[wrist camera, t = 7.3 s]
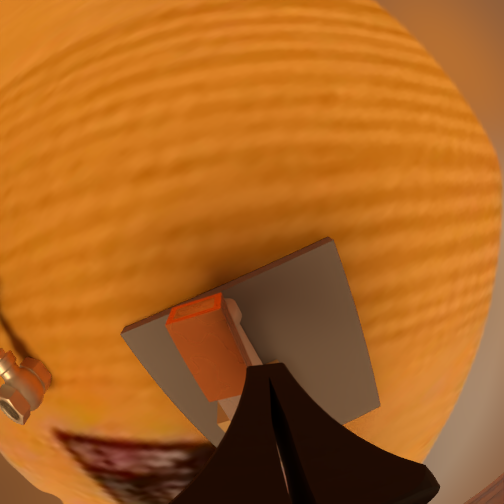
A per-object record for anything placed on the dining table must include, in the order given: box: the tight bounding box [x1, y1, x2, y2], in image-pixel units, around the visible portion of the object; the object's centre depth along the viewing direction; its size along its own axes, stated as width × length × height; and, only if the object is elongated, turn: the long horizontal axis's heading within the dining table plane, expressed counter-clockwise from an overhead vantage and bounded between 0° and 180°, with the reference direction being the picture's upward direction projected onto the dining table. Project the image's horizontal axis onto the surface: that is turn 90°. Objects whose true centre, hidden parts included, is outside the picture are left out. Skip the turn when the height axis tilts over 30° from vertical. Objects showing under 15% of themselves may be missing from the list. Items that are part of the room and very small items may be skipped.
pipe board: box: [120, 237, 380, 467], centre depth 18 cm, size 18×16×5 cm
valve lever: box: [165, 292, 281, 462], centre depth 13 cm, size 12×3×2 cm, turn 18°
